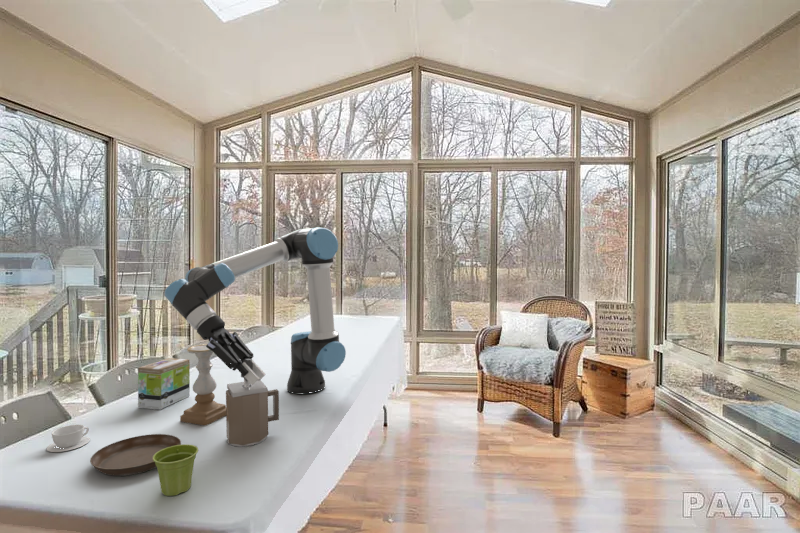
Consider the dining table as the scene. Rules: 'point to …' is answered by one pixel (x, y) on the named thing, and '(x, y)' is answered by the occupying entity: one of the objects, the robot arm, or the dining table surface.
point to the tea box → (163, 383)
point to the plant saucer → (131, 454)
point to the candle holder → (203, 391)
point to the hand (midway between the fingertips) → (258, 379)
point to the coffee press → (249, 413)
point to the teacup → (68, 438)
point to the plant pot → (175, 468)
